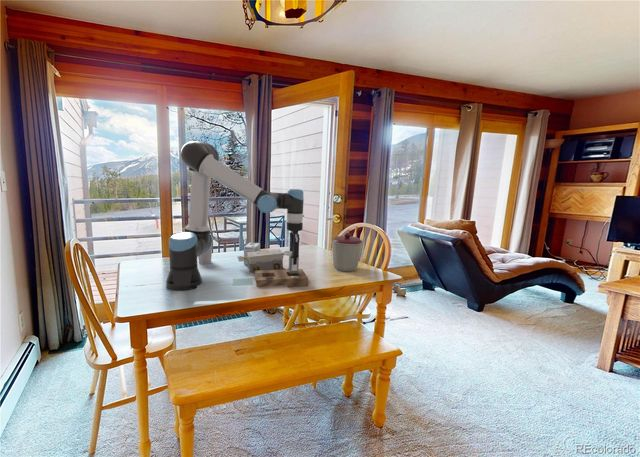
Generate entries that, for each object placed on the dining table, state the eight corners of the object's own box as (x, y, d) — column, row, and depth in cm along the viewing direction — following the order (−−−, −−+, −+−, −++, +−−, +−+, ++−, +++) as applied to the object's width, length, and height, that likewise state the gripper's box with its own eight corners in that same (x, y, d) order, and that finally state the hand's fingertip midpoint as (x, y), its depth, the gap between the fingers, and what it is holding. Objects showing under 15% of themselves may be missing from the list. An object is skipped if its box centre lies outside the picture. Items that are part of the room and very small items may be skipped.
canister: (325, 271, 178) (327, 233, 174) (333, 262, 195) (335, 228, 191) (358, 275, 174) (361, 237, 170) (363, 266, 191) (366, 231, 187)
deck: (232, 287, 148) (232, 285, 148) (232, 280, 157) (232, 278, 157) (252, 286, 151) (252, 284, 151) (251, 280, 159) (252, 278, 159)
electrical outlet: (294, 270, 175) (293, 252, 173) (240, 277, 166) (238, 259, 164) (288, 264, 186) (288, 247, 184) (237, 270, 177) (236, 252, 175)
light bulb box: (249, 259, 193) (249, 242, 191) (260, 260, 193) (260, 242, 191) (243, 265, 183) (243, 246, 181) (255, 265, 182) (255, 247, 180)
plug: (290, 273, 157) (290, 253, 155) (288, 270, 160) (289, 251, 159) (298, 273, 158) (298, 253, 156) (296, 270, 161) (297, 251, 160)
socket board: (256, 288, 149) (256, 279, 148) (254, 278, 162) (254, 270, 161) (307, 286, 155) (308, 277, 154) (302, 276, 168) (302, 268, 167)
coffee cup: (217, 262, 185) (217, 236, 183) (203, 265, 178) (202, 239, 175) (206, 259, 190) (206, 234, 188) (192, 262, 182) (191, 236, 180)
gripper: (306, 225, 147) (304, 274, 152) (299, 219, 164) (297, 263, 168) (289, 225, 145) (288, 275, 150) (284, 219, 162) (283, 264, 166)
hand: (293, 268), depth 159 cm, fingers closed on plug, 4 cm apart
